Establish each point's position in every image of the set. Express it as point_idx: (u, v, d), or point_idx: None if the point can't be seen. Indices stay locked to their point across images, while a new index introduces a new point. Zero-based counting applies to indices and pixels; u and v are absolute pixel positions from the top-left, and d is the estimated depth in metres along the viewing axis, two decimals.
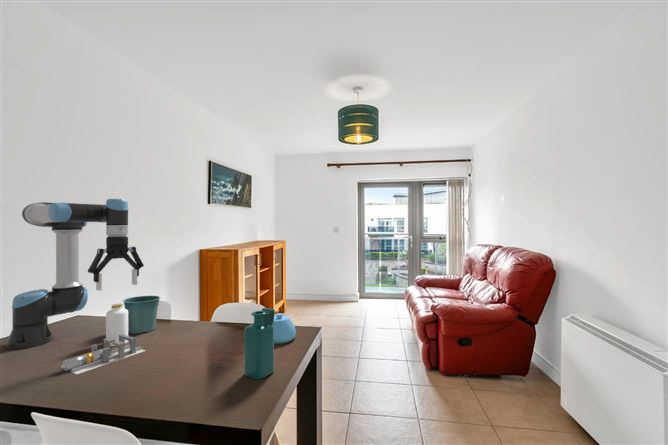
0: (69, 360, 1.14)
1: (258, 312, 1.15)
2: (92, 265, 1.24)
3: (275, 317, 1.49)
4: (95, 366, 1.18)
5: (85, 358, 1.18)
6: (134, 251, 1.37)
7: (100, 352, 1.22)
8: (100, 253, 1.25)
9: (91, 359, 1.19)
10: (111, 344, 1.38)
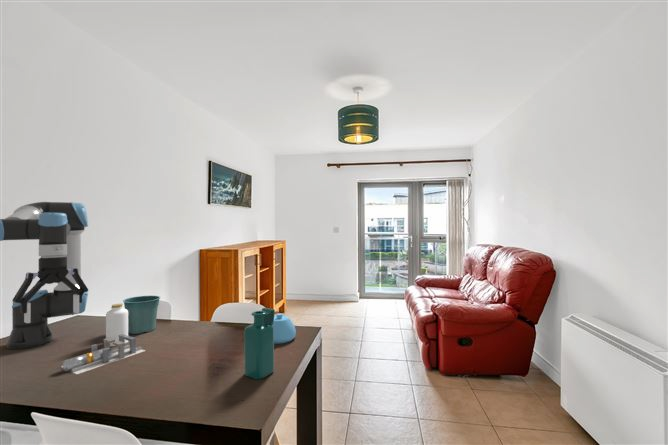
0: (69, 360, 1.14)
1: (258, 312, 1.15)
2: (18, 292, 1.03)
3: (275, 317, 1.49)
4: (95, 366, 1.18)
5: (85, 359, 1.18)
6: (75, 273, 1.16)
7: (100, 353, 1.22)
8: (29, 278, 1.05)
9: (91, 360, 1.19)
10: (111, 344, 1.38)
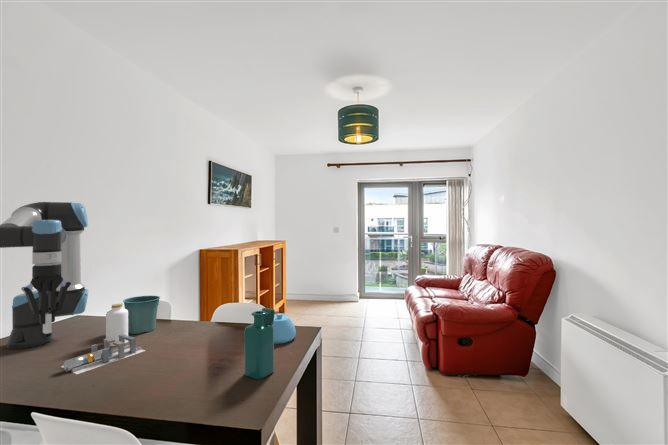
0: (71, 362, 1.14)
1: (258, 312, 1.15)
2: (31, 306, 1.06)
3: (275, 317, 1.49)
4: (95, 366, 1.18)
5: (86, 360, 1.17)
6: (65, 287, 1.13)
7: (101, 355, 1.22)
8: (28, 292, 1.05)
9: (91, 361, 1.19)
10: (111, 344, 1.38)
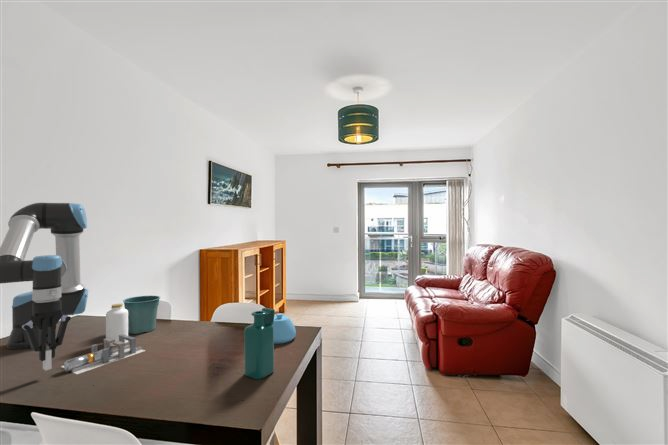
0: (71, 363, 1.13)
1: (258, 312, 1.15)
2: (31, 343, 1.06)
3: (275, 317, 1.49)
4: (95, 366, 1.18)
5: (87, 361, 1.17)
6: (65, 322, 1.13)
7: None
8: (28, 330, 1.05)
9: (91, 362, 1.19)
10: (111, 344, 1.38)
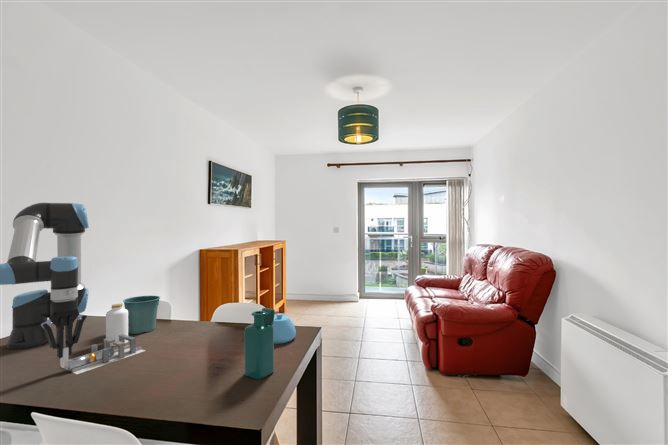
0: (73, 362, 1.14)
1: (258, 312, 1.15)
2: (49, 341, 1.10)
3: (275, 317, 1.49)
4: (95, 366, 1.18)
5: (88, 361, 1.18)
6: (81, 320, 1.18)
7: None
8: (46, 328, 1.09)
9: None
10: (111, 344, 1.38)
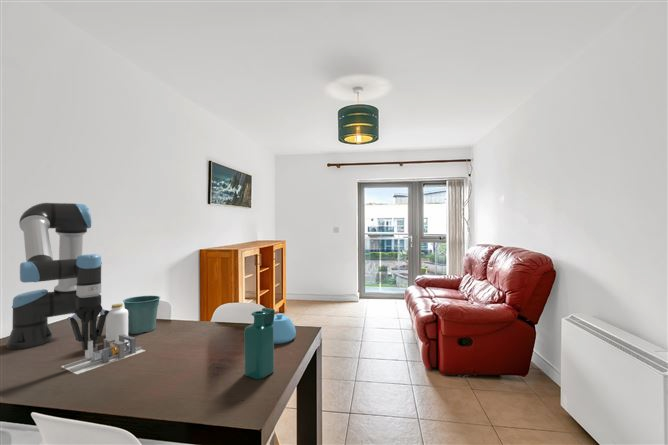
0: (97, 355, 1.20)
1: (258, 312, 1.15)
2: (75, 334, 1.17)
3: (275, 317, 1.49)
4: (95, 366, 1.18)
5: (111, 353, 1.24)
6: (104, 315, 1.24)
7: (124, 348, 1.29)
8: (73, 322, 1.15)
9: (115, 354, 1.26)
10: (111, 344, 1.38)
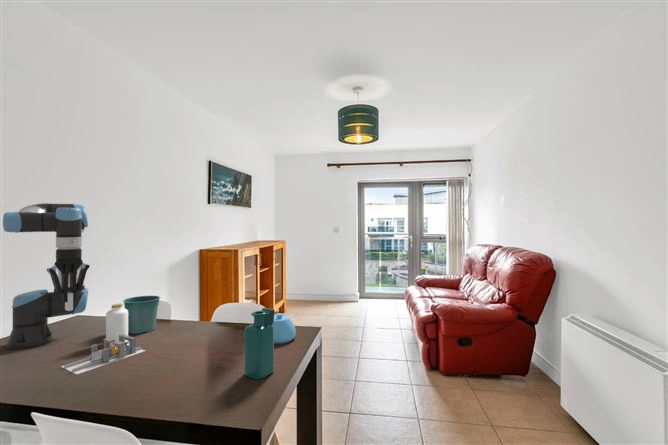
0: (97, 355, 1.20)
1: (258, 312, 1.15)
2: (55, 286, 1.17)
3: (275, 317, 1.49)
4: (95, 366, 1.18)
5: (111, 353, 1.24)
6: (85, 269, 1.24)
7: (124, 348, 1.29)
8: (52, 273, 1.16)
9: None
10: (111, 344, 1.38)
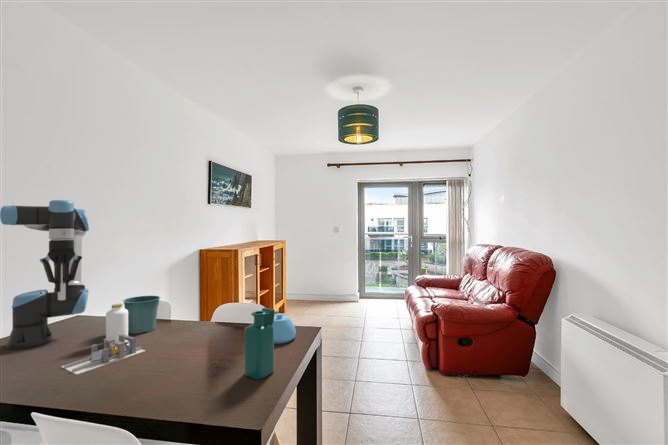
0: (97, 355, 1.20)
1: (258, 312, 1.15)
2: (48, 275, 1.21)
3: (275, 317, 1.49)
4: (95, 366, 1.18)
5: (111, 353, 1.24)
6: (77, 260, 1.28)
7: (124, 348, 1.29)
8: (45, 263, 1.20)
9: None
10: (111, 344, 1.38)
